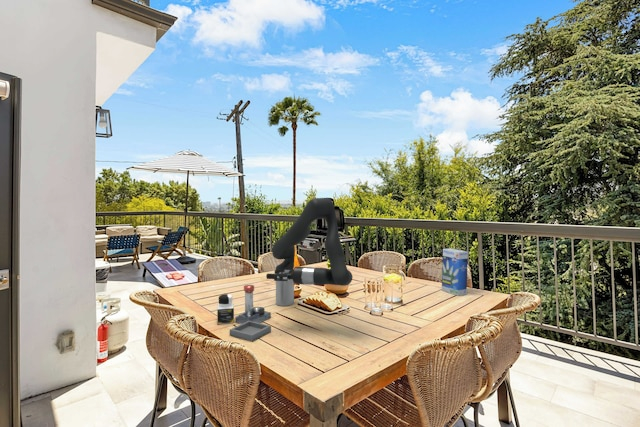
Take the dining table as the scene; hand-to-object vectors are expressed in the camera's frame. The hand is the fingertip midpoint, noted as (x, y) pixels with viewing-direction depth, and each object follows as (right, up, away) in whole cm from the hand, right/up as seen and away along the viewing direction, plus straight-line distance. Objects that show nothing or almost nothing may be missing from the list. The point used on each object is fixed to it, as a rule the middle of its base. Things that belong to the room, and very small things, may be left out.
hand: (270, 274), depth 154 cm
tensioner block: (-9, -22, +7) cm, 25 cm away
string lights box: (+103, -21, +55) cm, 118 cm away
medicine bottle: (-21, -22, +5) cm, 31 cm away
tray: (-7, -23, -9) cm, 26 cm away
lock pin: (-10, -20, +4) cm, 23 cm away
